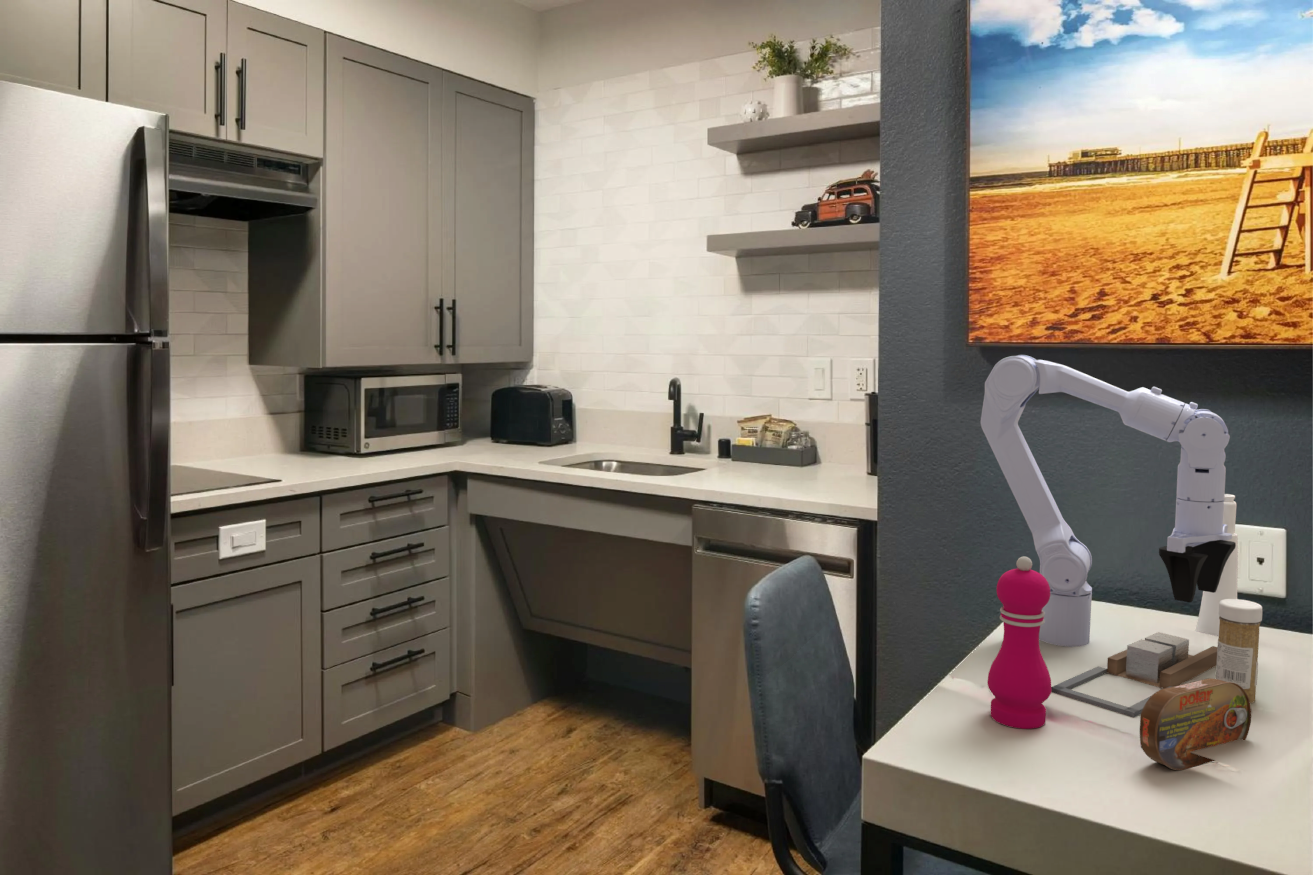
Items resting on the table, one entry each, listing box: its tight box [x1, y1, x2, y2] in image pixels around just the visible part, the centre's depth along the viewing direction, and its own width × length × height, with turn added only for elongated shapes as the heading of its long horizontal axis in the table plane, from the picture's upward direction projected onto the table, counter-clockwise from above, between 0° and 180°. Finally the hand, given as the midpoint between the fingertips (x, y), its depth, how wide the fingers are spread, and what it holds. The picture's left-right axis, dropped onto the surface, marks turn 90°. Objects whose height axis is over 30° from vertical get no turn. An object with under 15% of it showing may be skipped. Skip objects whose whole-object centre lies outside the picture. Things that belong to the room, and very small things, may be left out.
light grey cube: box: [1126, 638, 1173, 683], centre depth 125 cm, size 4×4×4 cm
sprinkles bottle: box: [1215, 598, 1263, 704], centre depth 118 cm, size 5×5×14 cm
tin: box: [1139, 677, 1252, 771], centre depth 104 cm, size 15×3×8 cm, turn 114°
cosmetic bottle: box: [1194, 493, 1239, 638], centre depth 145 cm, size 6×6×22 cm
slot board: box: [1106, 645, 1218, 689], centre depth 128 cm, size 8×16×4 cm, turn 129°
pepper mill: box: [987, 556, 1052, 730], centre depth 114 cm, size 7×7×20 cm
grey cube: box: [1144, 631, 1190, 666], centre depth 128 cm, size 4×4×4 cm
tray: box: [1051, 665, 1172, 718], centre depth 120 cm, size 10×12×2 cm
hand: (1195, 595), depth 132 cm, fingers open, 7 cm apart
